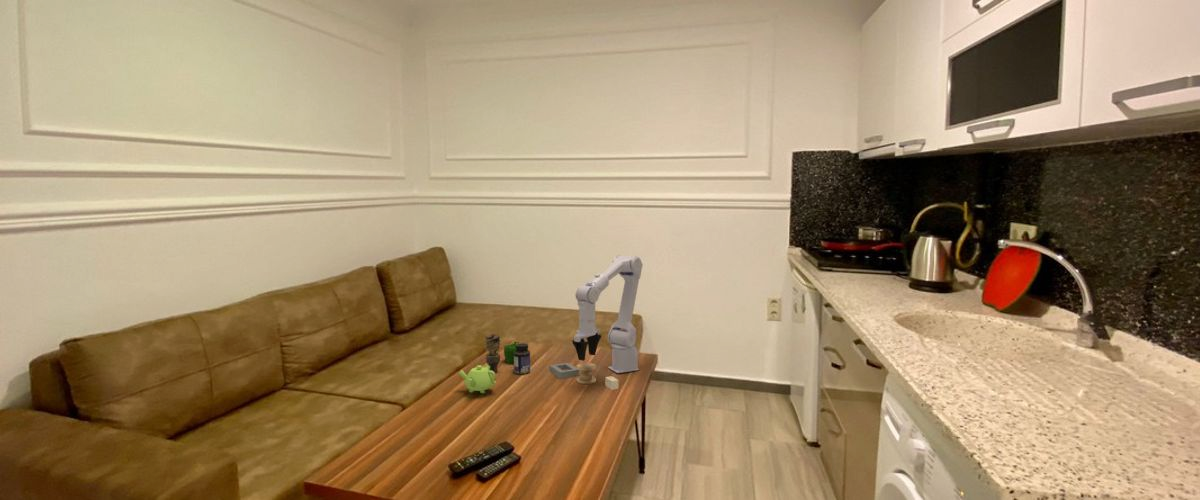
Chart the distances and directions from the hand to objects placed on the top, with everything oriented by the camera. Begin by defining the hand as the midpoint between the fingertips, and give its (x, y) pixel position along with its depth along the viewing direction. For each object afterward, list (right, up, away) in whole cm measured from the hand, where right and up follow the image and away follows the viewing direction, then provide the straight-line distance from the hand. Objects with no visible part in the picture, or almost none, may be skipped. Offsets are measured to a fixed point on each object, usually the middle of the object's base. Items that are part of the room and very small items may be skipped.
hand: (587, 357), depth 182 cm
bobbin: (0, -10, +5) cm, 11 cm away
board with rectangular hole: (-9, -9, +13) cm, 18 cm away
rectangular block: (+9, -10, -2) cm, 14 cm away
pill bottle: (-25, -9, +13) cm, 30 cm away
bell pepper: (-30, -8, +24) cm, 39 cm away
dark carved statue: (-36, -9, +13) cm, 40 cm away
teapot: (-38, -10, -5) cm, 39 cm away
